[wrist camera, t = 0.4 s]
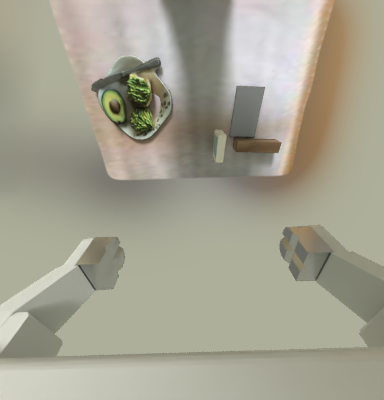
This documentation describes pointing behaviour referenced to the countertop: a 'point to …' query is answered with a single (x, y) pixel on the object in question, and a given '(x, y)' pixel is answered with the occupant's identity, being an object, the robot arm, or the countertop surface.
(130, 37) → the countertop surface
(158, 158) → the countertop surface
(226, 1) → the countertop surface
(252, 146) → the brown long block
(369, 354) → the robot arm
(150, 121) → the plate of avocado toast
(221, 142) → the tile
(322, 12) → the countertop surface
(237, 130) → the pad
